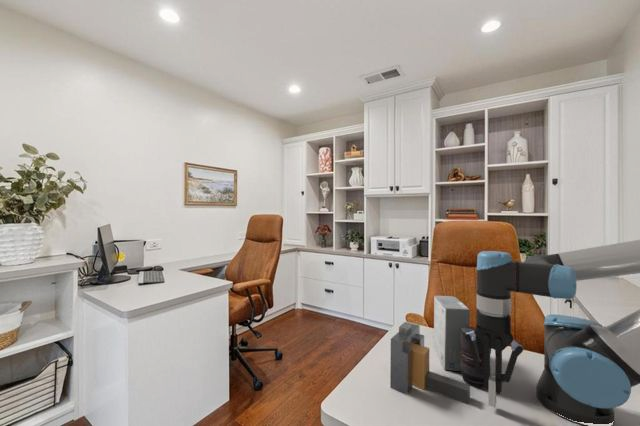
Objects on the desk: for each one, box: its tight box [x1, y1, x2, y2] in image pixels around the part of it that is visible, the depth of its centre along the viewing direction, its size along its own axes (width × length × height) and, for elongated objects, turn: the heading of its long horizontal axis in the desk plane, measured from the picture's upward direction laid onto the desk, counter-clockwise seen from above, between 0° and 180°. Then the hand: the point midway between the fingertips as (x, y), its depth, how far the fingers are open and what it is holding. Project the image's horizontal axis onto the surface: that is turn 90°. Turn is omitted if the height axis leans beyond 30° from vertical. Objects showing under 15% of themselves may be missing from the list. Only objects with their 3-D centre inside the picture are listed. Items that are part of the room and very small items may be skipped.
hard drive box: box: [433, 295, 471, 372], centre depth 97 cm, size 16×8×20 cm, turn 171°
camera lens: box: [460, 326, 492, 389], centre depth 84 cm, size 8×8×15 cm
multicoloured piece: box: [409, 343, 471, 405], centre depth 80 cm, size 16×5×10 cm, turn 53°
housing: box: [389, 321, 425, 395], centre depth 85 cm, size 5×15×16 cm, turn 143°
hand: (492, 403), depth 72 cm, fingers closed
